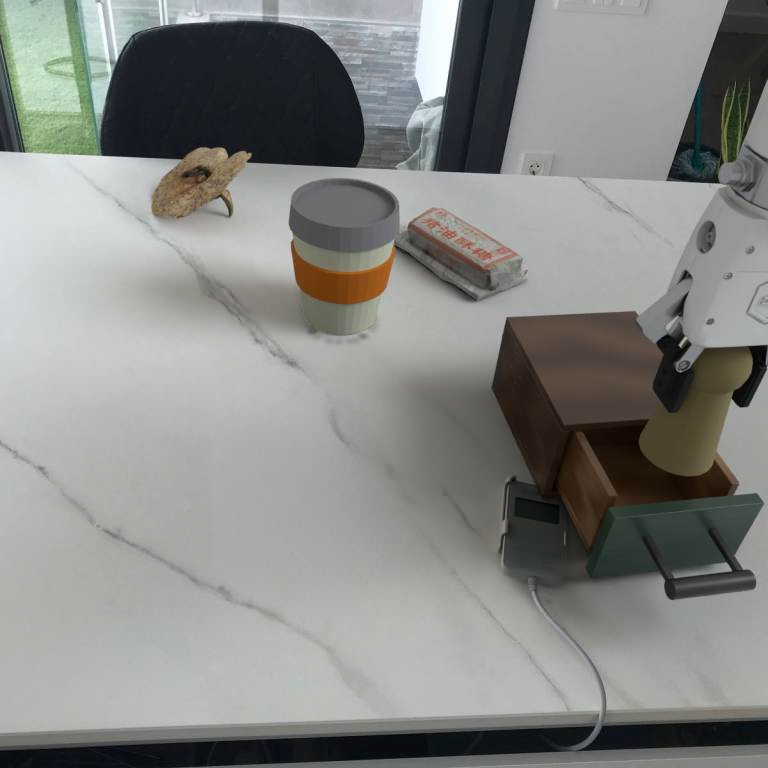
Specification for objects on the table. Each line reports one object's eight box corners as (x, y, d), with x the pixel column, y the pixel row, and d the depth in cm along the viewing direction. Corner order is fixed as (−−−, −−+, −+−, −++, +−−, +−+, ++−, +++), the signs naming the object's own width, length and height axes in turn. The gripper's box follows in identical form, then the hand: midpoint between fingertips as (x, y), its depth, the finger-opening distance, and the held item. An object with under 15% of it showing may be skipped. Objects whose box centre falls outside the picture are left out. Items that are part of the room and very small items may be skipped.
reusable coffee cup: (371, 280, 102) (379, 173, 92) (405, 335, 93) (418, 222, 83) (277, 292, 98) (276, 181, 88) (304, 351, 89) (305, 234, 79)
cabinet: (680, 485, 77) (713, 413, 71) (541, 499, 74) (564, 425, 68) (611, 379, 89) (635, 310, 83) (491, 387, 86) (506, 316, 80)
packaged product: (537, 250, 101) (483, 272, 96) (529, 282, 104) (477, 304, 99) (445, 196, 112) (391, 212, 106) (440, 226, 115) (388, 244, 109)
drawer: (767, 619, 64) (807, 560, 59) (618, 639, 62) (647, 579, 57) (652, 441, 80) (676, 383, 75) (530, 451, 78) (546, 392, 73)
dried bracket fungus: (148, 243, 117) (119, 199, 112) (211, 191, 124) (186, 147, 119) (220, 246, 105) (191, 197, 101) (286, 188, 112) (261, 140, 108)
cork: (666, 415, 67) (709, 310, 60) (727, 455, 64) (781, 349, 57) (623, 443, 64) (664, 335, 57) (686, 487, 61) (738, 378, 54)
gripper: (702, 210, 44) (617, 440, 56) (953, 205, 48) (823, 423, 59) (645, 156, 50) (578, 374, 61) (872, 155, 53) (769, 362, 65)
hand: (699, 396), depth 60 cm, fingers closed on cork, 5 cm apart
